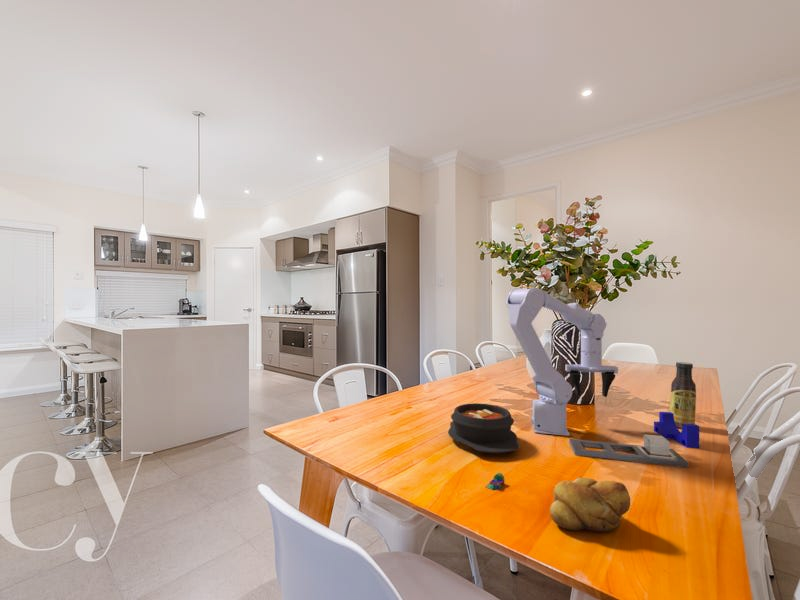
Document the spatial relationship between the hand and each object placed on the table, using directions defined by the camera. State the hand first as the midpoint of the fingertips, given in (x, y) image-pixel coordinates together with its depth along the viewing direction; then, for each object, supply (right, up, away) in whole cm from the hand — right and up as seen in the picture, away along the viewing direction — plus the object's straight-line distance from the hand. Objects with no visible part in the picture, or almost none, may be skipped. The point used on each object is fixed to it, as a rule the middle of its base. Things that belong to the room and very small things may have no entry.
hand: (591, 395), depth 111 cm
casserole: (-37, -10, -12) cm, 40 cm away
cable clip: (+18, -10, -11) cm, 23 cm away
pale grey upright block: (+4, -9, -23) cm, 25 cm away
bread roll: (-27, -9, -48) cm, 56 cm away
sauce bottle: (+28, -10, -1) cm, 30 cm away
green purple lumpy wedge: (-39, -10, -36) cm, 55 cm away
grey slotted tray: (-3, -9, -21) cm, 23 cm away
